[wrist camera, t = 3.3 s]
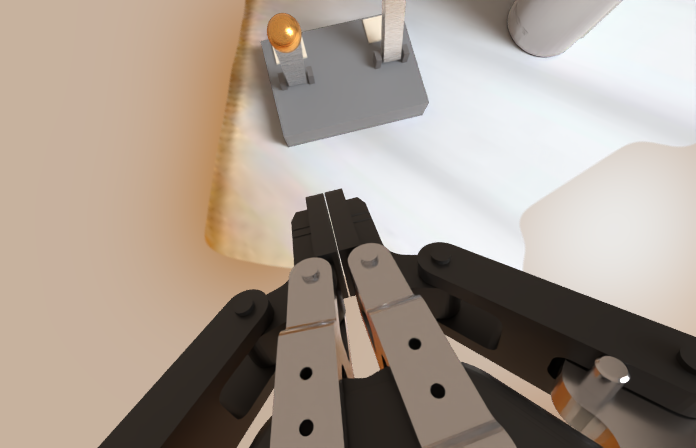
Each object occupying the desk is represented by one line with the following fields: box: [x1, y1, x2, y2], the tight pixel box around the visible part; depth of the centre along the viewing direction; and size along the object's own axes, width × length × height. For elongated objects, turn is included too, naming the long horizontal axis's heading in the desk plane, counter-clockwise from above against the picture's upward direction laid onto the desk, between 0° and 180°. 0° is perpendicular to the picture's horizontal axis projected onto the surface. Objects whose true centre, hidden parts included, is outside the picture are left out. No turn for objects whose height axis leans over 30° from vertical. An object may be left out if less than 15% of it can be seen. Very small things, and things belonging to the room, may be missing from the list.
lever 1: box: [267, 13, 307, 87], centre depth 27 cm, size 2×2×14 cm
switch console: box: [261, 14, 429, 147], centre depth 36 cm, size 17×12×4 cm
